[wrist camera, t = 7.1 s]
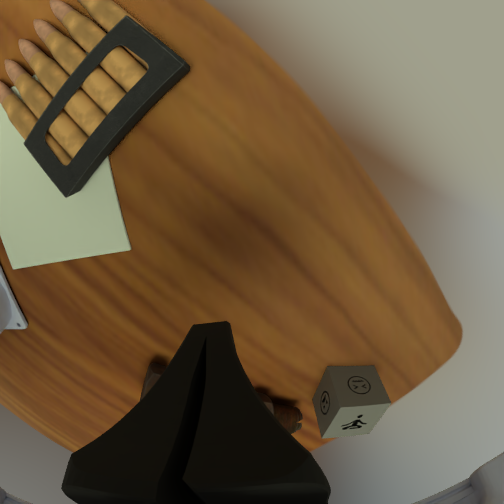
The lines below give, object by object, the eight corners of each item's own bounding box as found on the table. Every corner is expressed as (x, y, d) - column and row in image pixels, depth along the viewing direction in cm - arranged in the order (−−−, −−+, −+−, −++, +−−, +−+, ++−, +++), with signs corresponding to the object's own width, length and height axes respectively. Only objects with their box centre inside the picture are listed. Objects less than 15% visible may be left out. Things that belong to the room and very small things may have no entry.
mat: (14, 268, 21) (13, 269, 20) (-26, 111, 15) (-28, 111, 14) (131, 248, 21) (130, 249, 20) (92, 50, 15) (91, 50, 14)
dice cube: (312, 398, 29) (321, 438, 24) (327, 365, 27) (340, 407, 22) (355, 397, 29) (368, 433, 25) (373, 364, 27) (391, 403, 23)
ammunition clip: (192, 68, 15) (84, -24, 12) (186, 62, 14) (72, -33, 10) (79, 192, 18) (-5, 90, 14) (65, 199, 16) (-21, 90, 13)
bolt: (286, 398, 31) (147, 365, 27) (312, 391, 27) (152, 355, 23) (280, 448, 28) (134, 421, 24) (306, 449, 24) (137, 421, 20)
